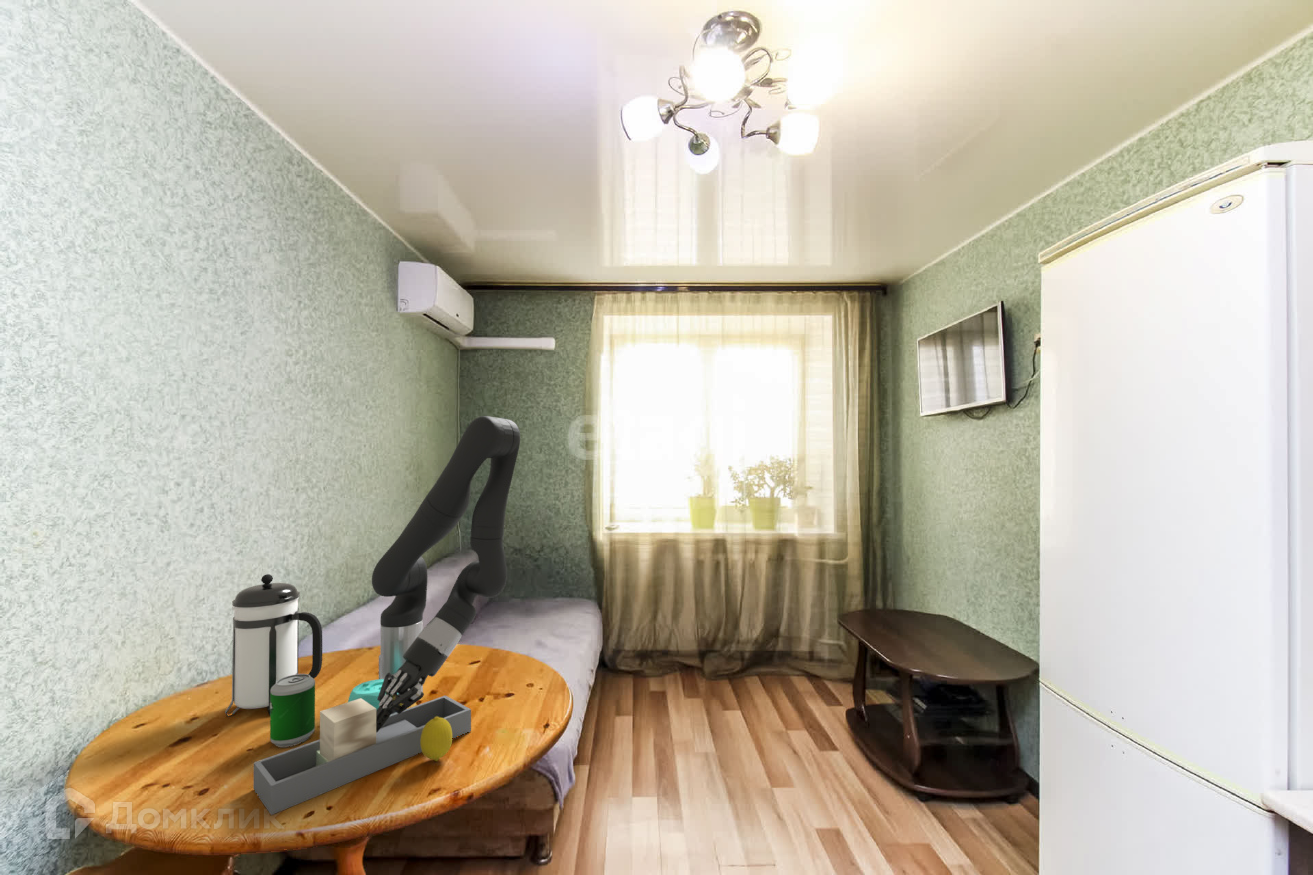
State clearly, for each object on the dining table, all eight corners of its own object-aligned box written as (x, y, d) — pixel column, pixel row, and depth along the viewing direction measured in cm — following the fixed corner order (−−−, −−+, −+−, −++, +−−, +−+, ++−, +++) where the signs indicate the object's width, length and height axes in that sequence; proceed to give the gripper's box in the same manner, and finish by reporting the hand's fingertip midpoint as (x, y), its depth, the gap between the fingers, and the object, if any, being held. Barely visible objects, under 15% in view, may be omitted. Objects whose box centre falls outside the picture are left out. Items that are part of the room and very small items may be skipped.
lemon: (433, 772, 99) (433, 726, 99) (414, 763, 102) (414, 719, 102) (458, 757, 103) (458, 714, 104) (439, 749, 106) (439, 707, 107)
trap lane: (445, 716, 120) (445, 695, 120) (471, 731, 113) (470, 709, 113) (253, 789, 94) (253, 762, 95) (271, 814, 87) (271, 785, 88)
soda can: (323, 733, 114) (323, 674, 114) (288, 752, 107) (289, 688, 107) (296, 728, 116) (297, 670, 117) (260, 746, 109) (261, 684, 109)
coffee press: (228, 729, 116) (229, 585, 117) (222, 704, 128) (224, 574, 129) (322, 704, 128) (323, 573, 129) (309, 683, 140) (310, 564, 141)
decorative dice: (359, 717, 120) (359, 680, 121) (398, 713, 122) (398, 677, 122) (346, 735, 113) (346, 695, 113) (388, 731, 114) (388, 691, 115)
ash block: (360, 737, 105) (360, 698, 106) (376, 750, 101) (376, 708, 101) (319, 753, 100) (320, 711, 100) (334, 766, 96) (334, 722, 96)
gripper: (405, 630, 116) (342, 710, 106) (436, 642, 107) (370, 731, 98) (430, 648, 120) (371, 727, 110) (462, 662, 111) (400, 749, 101)
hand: (370, 729), depth 104 cm, fingers closed
